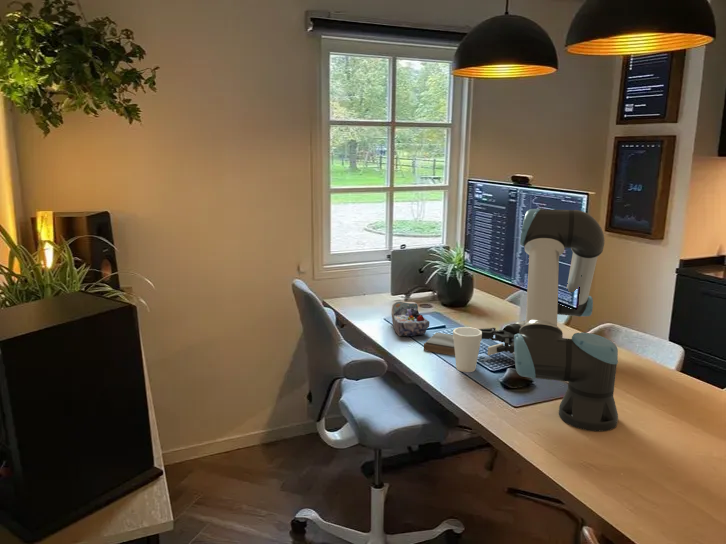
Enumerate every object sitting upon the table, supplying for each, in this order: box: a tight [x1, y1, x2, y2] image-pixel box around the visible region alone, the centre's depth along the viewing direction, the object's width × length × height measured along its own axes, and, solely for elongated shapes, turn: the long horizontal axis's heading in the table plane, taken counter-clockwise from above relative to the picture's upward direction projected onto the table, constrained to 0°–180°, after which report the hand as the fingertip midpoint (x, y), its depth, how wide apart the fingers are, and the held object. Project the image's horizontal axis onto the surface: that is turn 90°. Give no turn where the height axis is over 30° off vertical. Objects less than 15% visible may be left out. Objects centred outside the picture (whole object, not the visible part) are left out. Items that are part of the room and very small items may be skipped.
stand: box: [423, 331, 455, 357], centre depth 211 cm, size 13×13×3 cm
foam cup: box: [452, 326, 483, 373], centre depth 191 cm, size 10×9×13 cm
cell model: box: [391, 300, 430, 337], centre depth 228 cm, size 13×11×20 cm
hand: (473, 345), depth 193 cm, fingers open, 13 cm apart
